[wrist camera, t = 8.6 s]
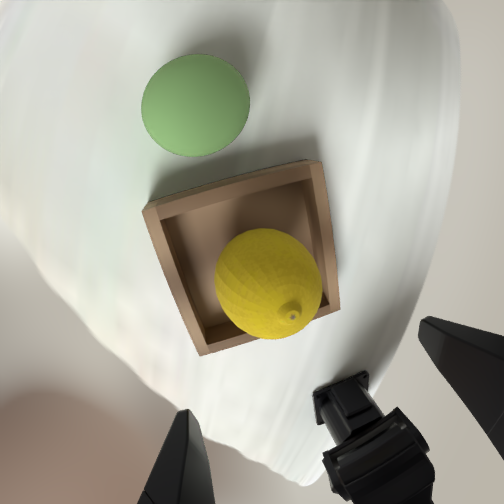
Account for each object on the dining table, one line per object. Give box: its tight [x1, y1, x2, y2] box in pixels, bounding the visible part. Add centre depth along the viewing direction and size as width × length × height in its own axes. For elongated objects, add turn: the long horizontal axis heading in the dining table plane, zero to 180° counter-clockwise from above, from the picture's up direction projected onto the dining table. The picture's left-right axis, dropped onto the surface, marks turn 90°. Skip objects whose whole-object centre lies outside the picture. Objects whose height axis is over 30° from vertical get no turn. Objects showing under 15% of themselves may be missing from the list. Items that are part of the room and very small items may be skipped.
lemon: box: [214, 228, 323, 339], centre depth 16 cm, size 6×6×8 cm
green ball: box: [141, 54, 250, 157], centre depth 13 cm, size 6×6×6 cm
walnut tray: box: [142, 159, 340, 356], centre depth 19 cm, size 11×11×2 cm
